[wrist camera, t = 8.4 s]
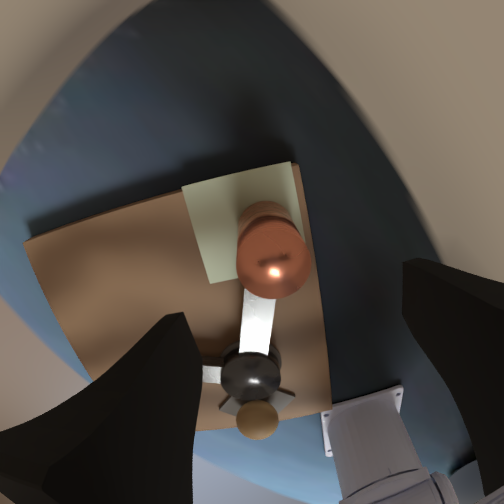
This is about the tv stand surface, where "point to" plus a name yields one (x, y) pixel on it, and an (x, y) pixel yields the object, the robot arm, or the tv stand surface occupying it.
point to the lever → (260, 299)
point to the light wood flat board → (187, 289)
